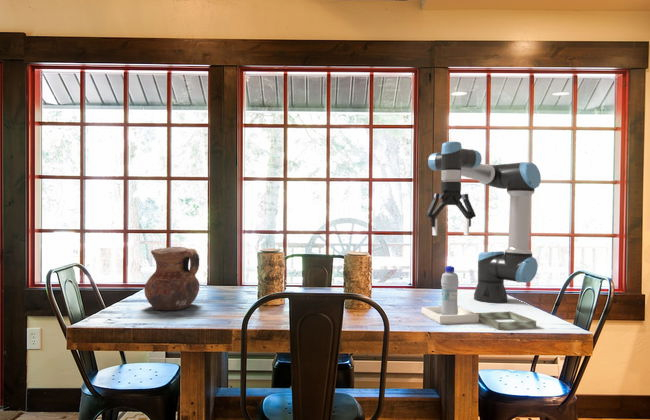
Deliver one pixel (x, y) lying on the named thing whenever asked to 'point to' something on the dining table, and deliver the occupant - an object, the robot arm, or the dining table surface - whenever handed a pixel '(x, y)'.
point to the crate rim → (517, 324)
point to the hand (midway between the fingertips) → (450, 235)
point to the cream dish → (461, 317)
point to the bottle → (449, 292)
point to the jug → (173, 278)
